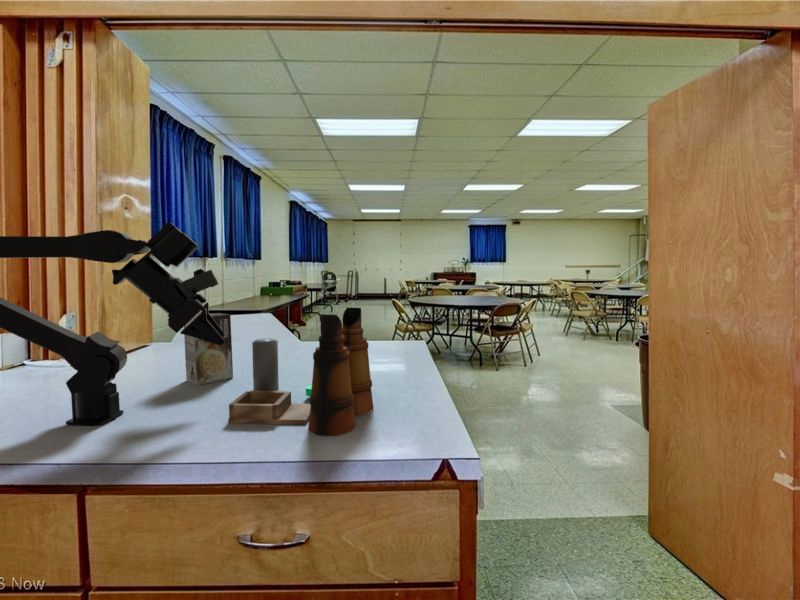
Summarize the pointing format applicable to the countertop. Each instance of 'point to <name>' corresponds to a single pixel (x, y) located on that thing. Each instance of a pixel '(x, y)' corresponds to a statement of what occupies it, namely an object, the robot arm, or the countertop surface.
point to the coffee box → (209, 355)
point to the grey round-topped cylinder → (265, 365)
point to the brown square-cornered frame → (267, 409)
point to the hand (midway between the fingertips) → (223, 339)
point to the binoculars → (340, 375)
